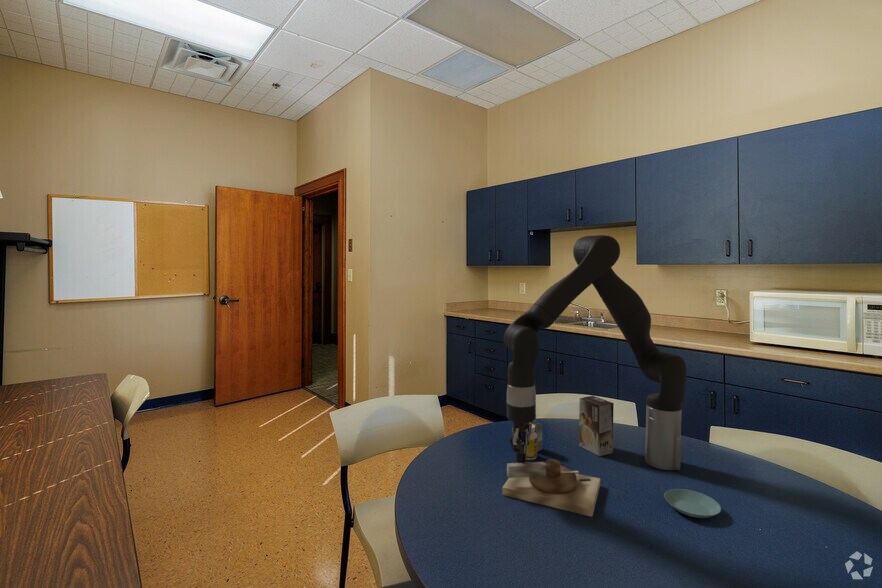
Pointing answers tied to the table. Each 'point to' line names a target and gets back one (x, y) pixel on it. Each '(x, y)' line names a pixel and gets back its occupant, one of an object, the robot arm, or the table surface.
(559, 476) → the dial
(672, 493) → the saucer
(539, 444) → the label tape box
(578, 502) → the base plate
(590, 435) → the coffee box
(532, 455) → the supplement bottle
